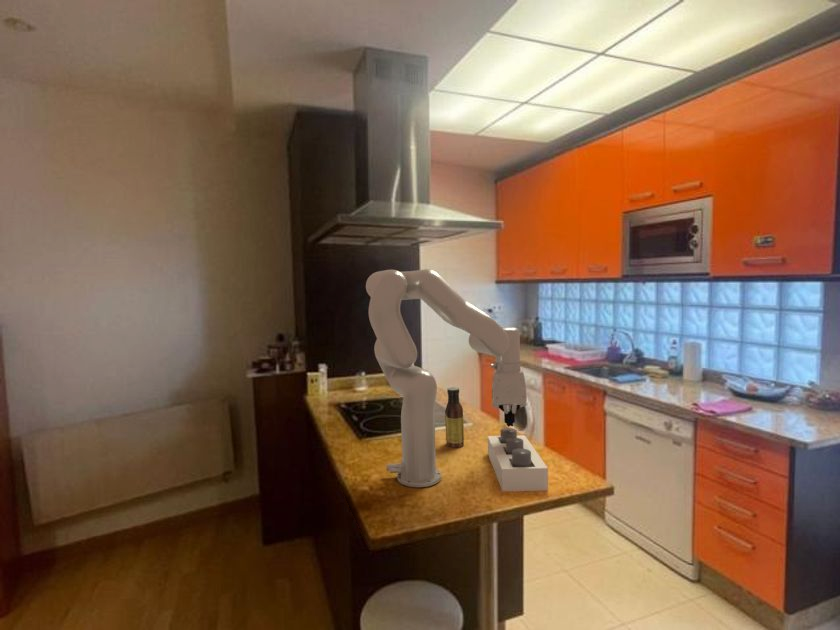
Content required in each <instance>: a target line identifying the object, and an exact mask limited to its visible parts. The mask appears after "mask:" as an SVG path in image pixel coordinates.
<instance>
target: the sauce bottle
mask: <svg viewBox="0 0 840 630" xmlns="http://www.w3.org/2000/svg"><path fill="white" fill-rule="evenodd" d="M446 391H447V404H446V407H445V410H444V416H445V419H444V420H445V421H444V423H445V440H446V441H445V442H446V445H447V446H449V447H451V448H460V447H463V446H464V444H465V428H464V427H465V425H464V424H465V423H464V422H465V421H464V419H465V418H464V409H463V406H462V404H461V402H460V388H459V387H448V388H447V390H446Z"/></svg>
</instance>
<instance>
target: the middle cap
mask: <svg viewBox="0 0 840 630" xmlns="http://www.w3.org/2000/svg"><path fill="white" fill-rule="evenodd" d="M519 448H521V449H523V440H522V439H520V438H507V439H506V455H509V454H512V450H514V449H519Z"/></svg>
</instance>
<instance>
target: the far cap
mask: <svg viewBox="0 0 840 630" xmlns="http://www.w3.org/2000/svg"><path fill="white" fill-rule="evenodd" d="M499 432H500V436H501V444H503V443H506V439H507V438H517V436H518V434H517V433H518V430H517V429H516V428H511V427H504V428H501V429H500V431H499Z"/></svg>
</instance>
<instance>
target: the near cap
mask: <svg viewBox="0 0 840 630" xmlns="http://www.w3.org/2000/svg"><path fill="white" fill-rule="evenodd" d="M512 467H531V451H529V450H527V449H521V448H519V449H514V450H512Z"/></svg>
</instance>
